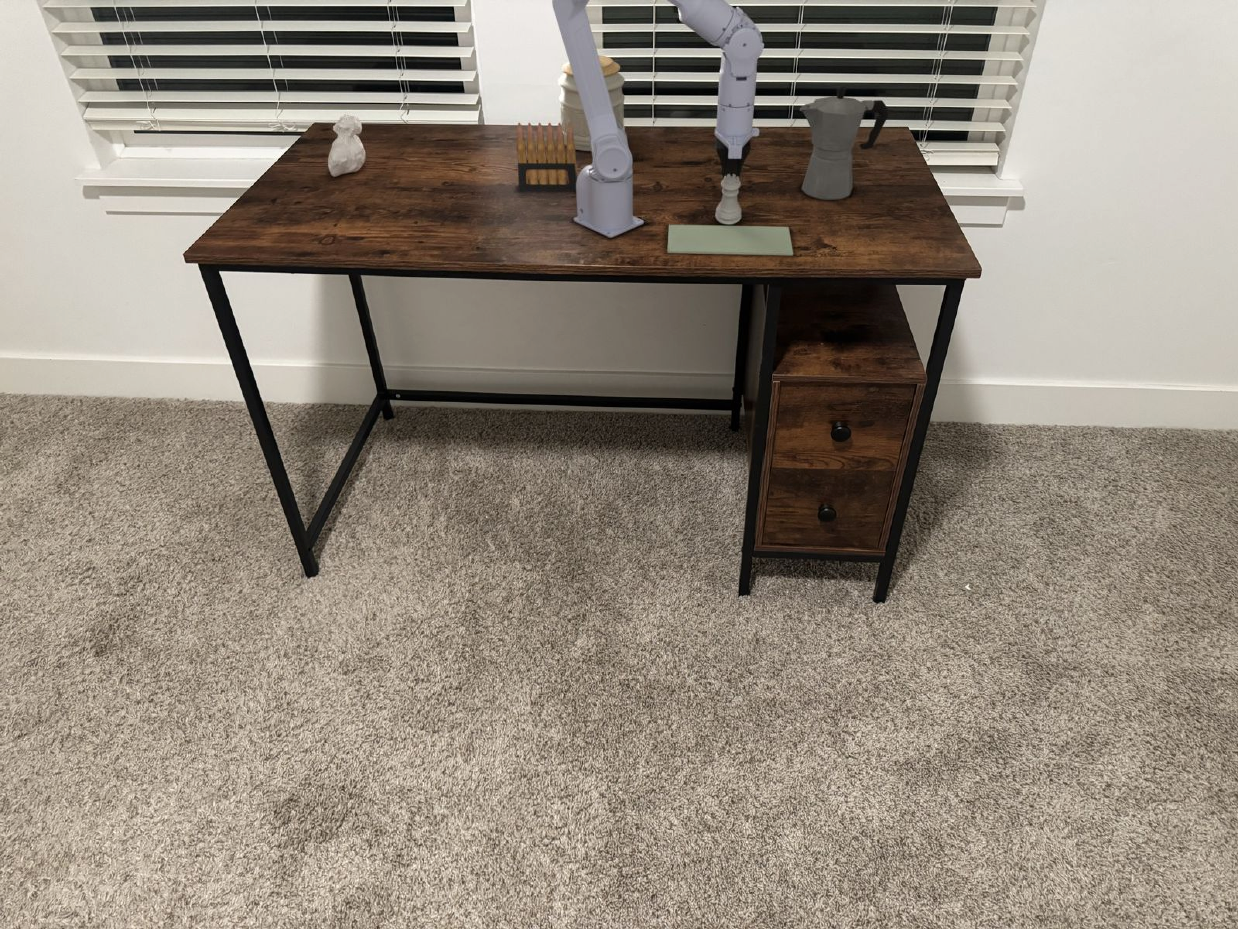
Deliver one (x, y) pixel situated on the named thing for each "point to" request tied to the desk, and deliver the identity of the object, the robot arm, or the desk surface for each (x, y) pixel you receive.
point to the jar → (573, 106)
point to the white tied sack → (346, 147)
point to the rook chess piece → (729, 201)
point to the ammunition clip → (546, 160)
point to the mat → (729, 240)
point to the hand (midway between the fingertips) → (730, 185)
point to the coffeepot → (837, 142)
